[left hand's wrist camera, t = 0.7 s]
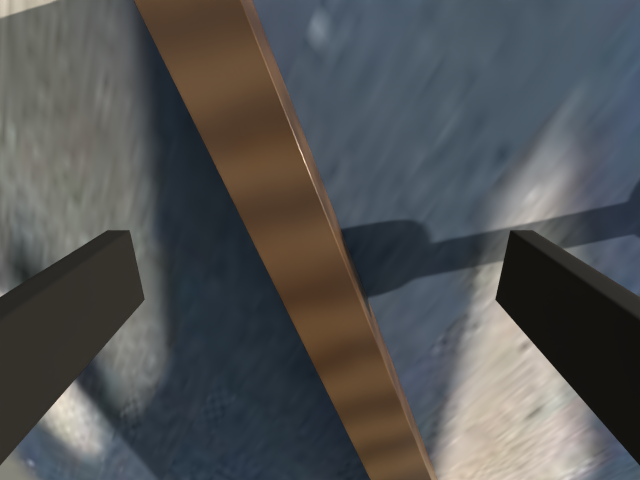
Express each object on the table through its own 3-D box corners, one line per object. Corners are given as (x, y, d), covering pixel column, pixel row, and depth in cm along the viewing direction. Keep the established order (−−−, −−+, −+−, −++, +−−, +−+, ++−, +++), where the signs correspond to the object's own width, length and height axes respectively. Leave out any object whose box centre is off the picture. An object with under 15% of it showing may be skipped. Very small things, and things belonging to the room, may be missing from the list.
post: (162, -20, 26) (99, -68, 18) (231, -54, 25) (194, -118, 18) (419, 539, 51) (436, 613, 44) (457, 531, 50) (481, 605, 43)
